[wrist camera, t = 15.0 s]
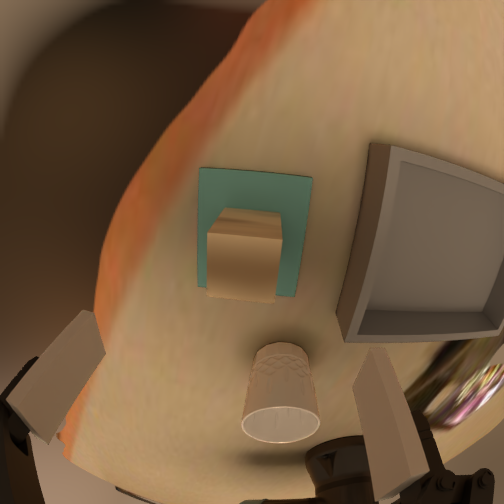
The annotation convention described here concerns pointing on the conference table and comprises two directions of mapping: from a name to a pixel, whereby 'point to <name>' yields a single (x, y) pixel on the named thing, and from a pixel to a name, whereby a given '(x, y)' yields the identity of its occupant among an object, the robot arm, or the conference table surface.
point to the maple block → (244, 255)
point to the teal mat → (256, 198)
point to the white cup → (280, 396)
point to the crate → (424, 253)
